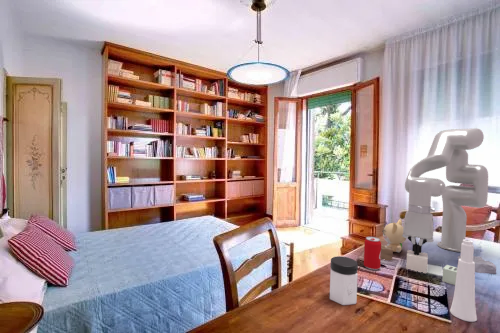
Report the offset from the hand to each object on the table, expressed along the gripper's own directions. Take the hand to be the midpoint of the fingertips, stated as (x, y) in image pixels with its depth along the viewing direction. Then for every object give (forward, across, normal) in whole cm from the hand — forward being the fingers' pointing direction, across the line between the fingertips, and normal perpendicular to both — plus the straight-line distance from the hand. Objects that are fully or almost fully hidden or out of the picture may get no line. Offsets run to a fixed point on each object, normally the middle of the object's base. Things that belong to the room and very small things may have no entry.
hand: (416, 253), depth 108 cm
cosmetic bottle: (+6, -15, +29) cm, 33 cm away
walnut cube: (+6, +12, -3) cm, 14 cm away
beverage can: (+6, +14, +12) cm, 19 cm away
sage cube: (+6, -12, +5) cm, 14 cm away
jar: (+6, +15, +43) cm, 46 cm away
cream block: (+6, 0, 0) cm, 6 cm away
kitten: (+6, +11, -16) cm, 20 cm away
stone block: (+6, -19, -18) cm, 27 cm away
